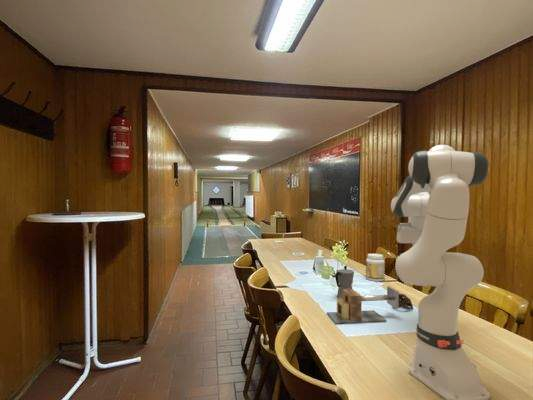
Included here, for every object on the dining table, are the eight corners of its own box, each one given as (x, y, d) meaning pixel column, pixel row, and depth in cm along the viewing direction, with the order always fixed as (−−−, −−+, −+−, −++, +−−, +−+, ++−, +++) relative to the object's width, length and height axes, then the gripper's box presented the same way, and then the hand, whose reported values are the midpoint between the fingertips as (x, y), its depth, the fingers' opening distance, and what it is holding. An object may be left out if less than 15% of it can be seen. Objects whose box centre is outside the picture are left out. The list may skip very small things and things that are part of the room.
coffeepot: (345, 293, 179) (345, 262, 179) (359, 297, 172) (359, 265, 172) (328, 299, 169) (328, 266, 169) (342, 303, 162) (342, 269, 162)
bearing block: (373, 311, 151) (374, 287, 151) (386, 321, 139) (386, 295, 139) (326, 314, 148) (326, 289, 148) (335, 324, 136) (335, 297, 136)
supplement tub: (362, 277, 214) (362, 253, 214) (376, 276, 218) (377, 252, 217) (373, 282, 202) (373, 257, 202) (388, 281, 206) (388, 256, 206)
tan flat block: (342, 313, 146) (342, 298, 146) (348, 319, 139) (349, 303, 139) (336, 313, 146) (336, 298, 146) (342, 320, 139) (342, 303, 138)
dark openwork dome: (417, 312, 151) (412, 299, 150) (399, 320, 153) (393, 307, 151) (407, 298, 163) (402, 286, 161) (390, 305, 164) (385, 293, 163)
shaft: (389, 302, 150) (389, 286, 149) (398, 308, 142) (398, 291, 142) (351, 304, 147) (351, 287, 147) (358, 310, 139) (358, 293, 139)
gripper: (401, 223, 137) (401, 254, 137) (443, 223, 139) (443, 253, 140) (394, 222, 143) (393, 251, 143) (434, 222, 146) (433, 251, 146)
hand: (418, 252), depth 141 cm, fingers closed
